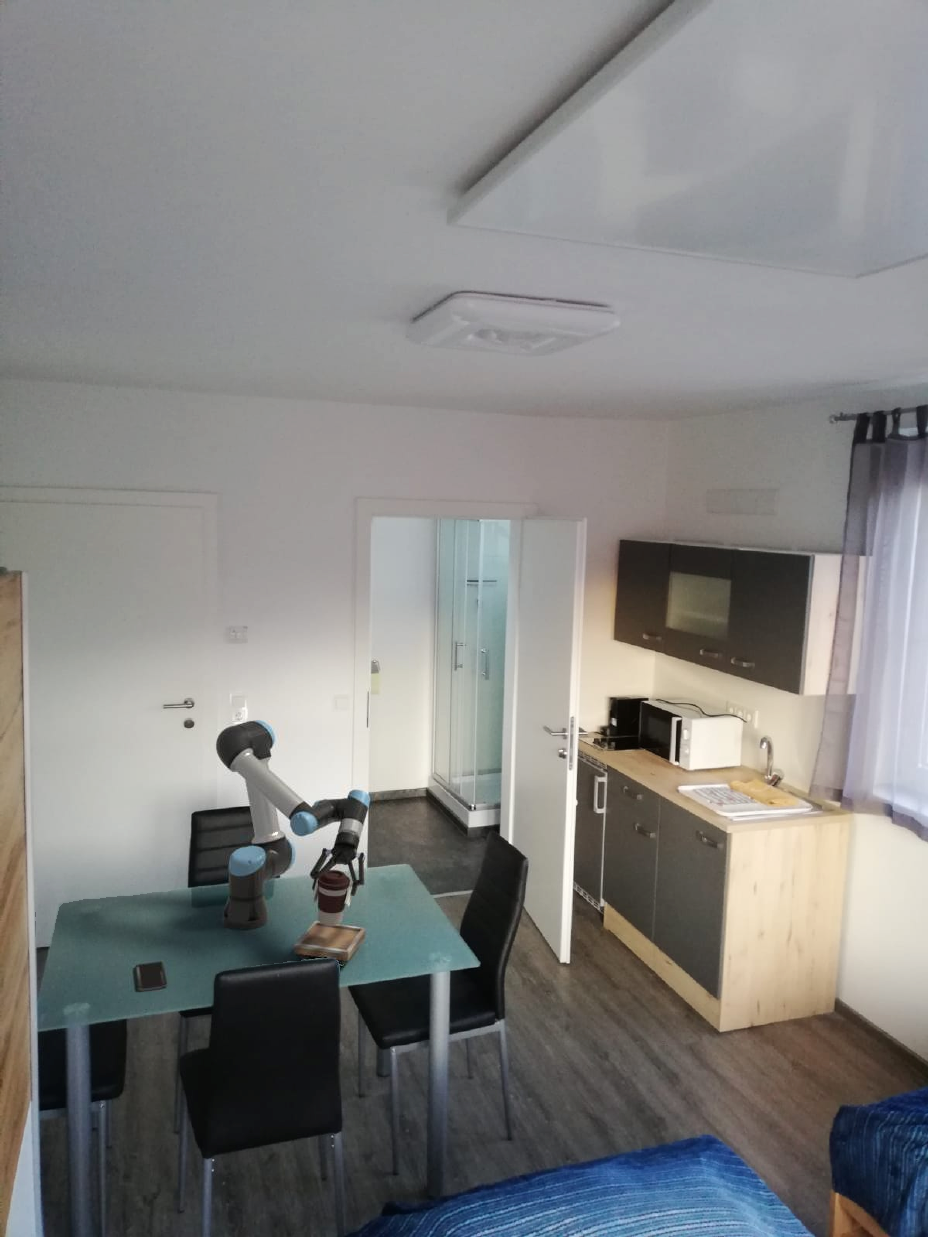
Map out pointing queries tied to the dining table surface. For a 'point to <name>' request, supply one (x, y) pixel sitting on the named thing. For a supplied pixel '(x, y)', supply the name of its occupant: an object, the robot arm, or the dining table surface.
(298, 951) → the shallow square tray
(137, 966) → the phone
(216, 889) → the dining table surface
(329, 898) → the coffee cup
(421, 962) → the dining table surface
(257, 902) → the robot arm
